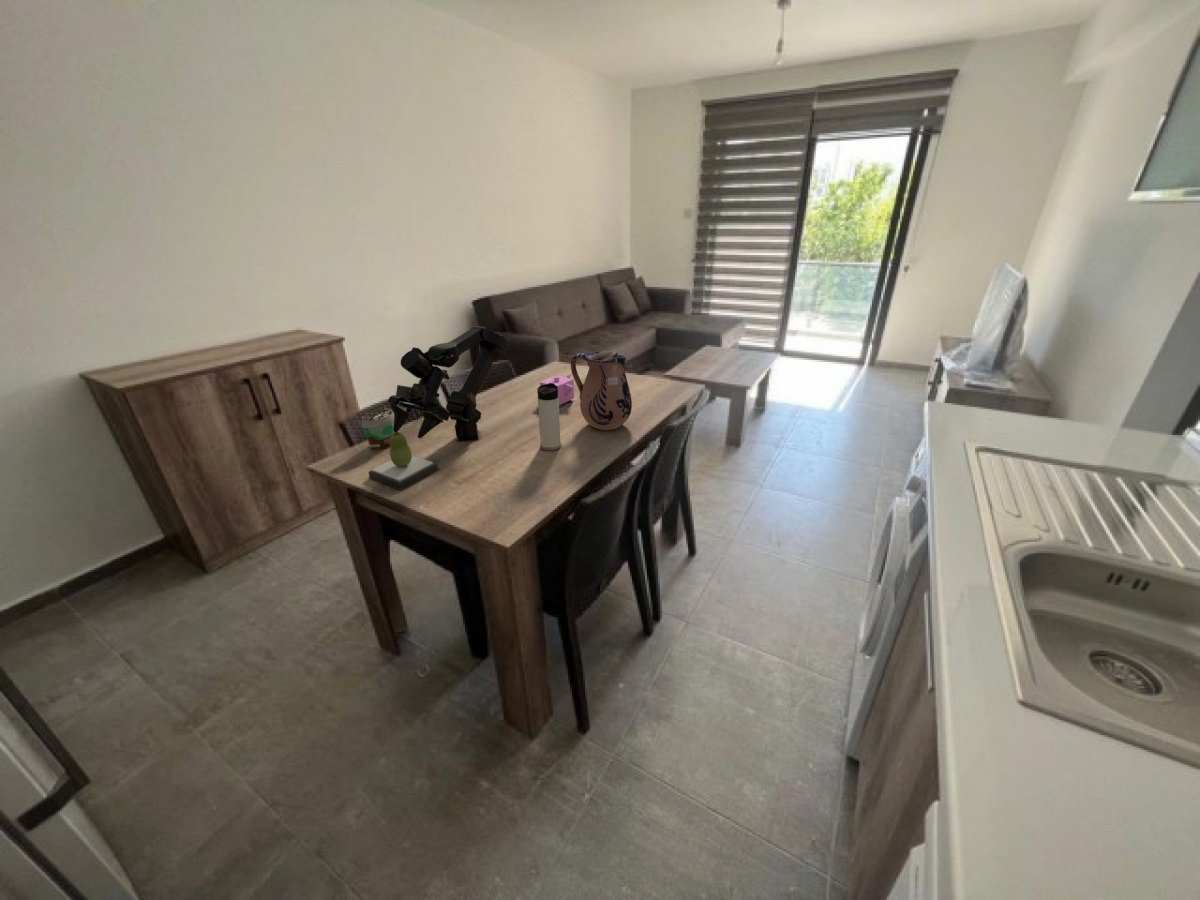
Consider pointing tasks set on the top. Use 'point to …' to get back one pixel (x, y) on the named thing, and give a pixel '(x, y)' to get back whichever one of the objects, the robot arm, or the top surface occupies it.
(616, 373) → the ceramic pitcher
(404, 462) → the pear
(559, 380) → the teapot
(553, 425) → the travel mug
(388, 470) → the kitchen scale
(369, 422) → the food container
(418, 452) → the top surface
